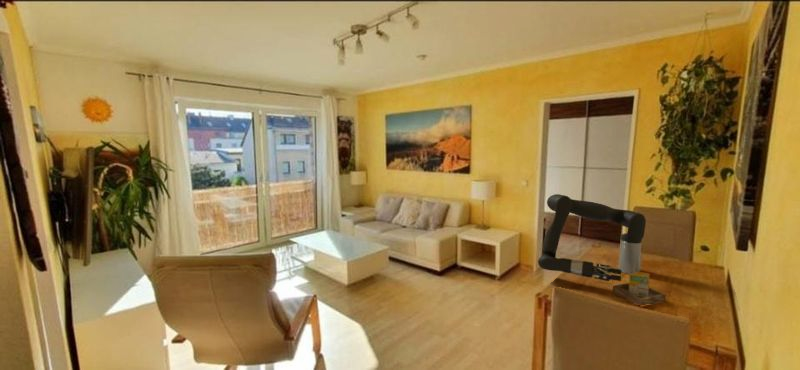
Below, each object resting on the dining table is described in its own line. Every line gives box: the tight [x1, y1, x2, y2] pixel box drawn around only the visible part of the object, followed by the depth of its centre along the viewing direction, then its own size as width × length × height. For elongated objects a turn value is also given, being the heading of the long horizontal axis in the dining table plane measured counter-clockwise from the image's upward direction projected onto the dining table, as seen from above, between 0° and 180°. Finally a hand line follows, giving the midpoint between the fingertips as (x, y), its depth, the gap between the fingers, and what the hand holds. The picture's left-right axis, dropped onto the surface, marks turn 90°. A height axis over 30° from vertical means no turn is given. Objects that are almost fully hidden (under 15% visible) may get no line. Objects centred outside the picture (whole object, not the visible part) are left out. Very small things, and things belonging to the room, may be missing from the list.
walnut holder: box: [612, 282, 667, 305], centre depth 151 cm, size 14×14×4 cm
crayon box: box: [628, 271, 651, 297], centre depth 150 cm, size 7×3×12 cm, turn 56°
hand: (621, 275), depth 154 cm, fingers open, 8 cm apart
